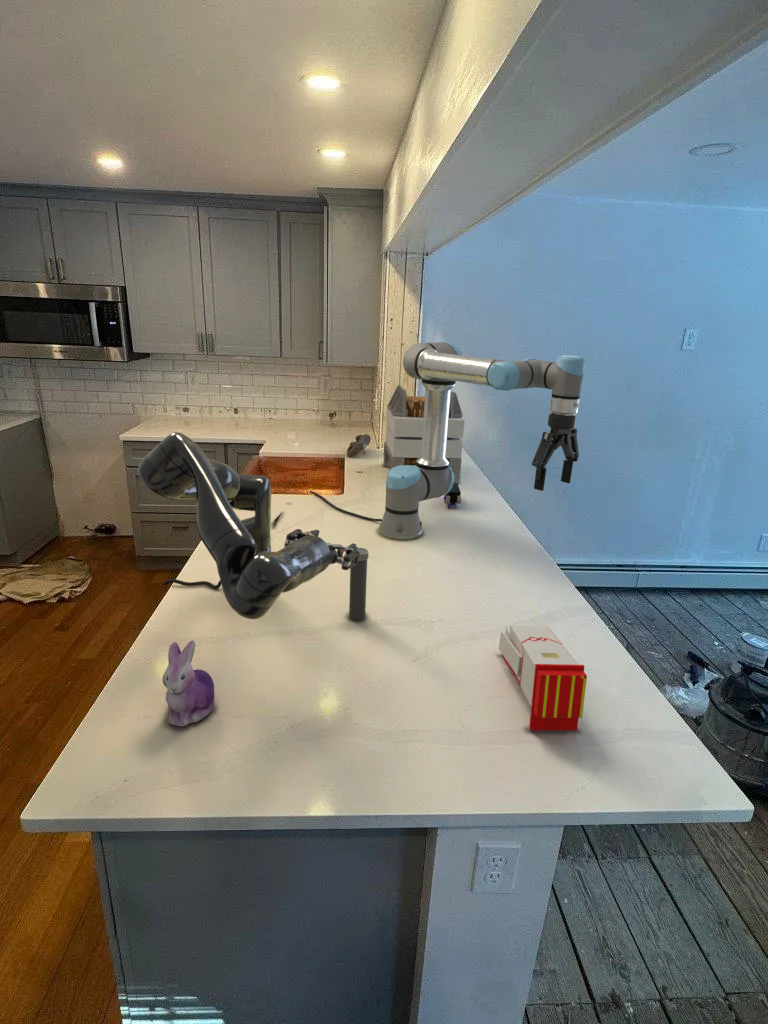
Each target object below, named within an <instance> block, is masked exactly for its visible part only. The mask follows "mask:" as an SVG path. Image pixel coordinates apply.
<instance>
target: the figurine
mask: <svg viewBox="0 0 768 1024" xmlns="http://www.w3.org/2000/svg"><path fill="white" fill-rule="evenodd" d="M195 649H196V641H195V640H190V641H188V643H186V645H185V646H184V648H183V649H182V650H181V648H180V645H179V644H178V642H176V641H173V642H172V643H170V645H169V648H168V651H167V652H168V654H167V658H168V665H167V667H166V669H165V670H164V672H163V675H162V680H161V681H162V684H163V686H164V687H165V688H166V690H167V691H166V693H165V701H166V704H167V707H168V710H169V715H168V723H169V724H170V725H173V726H176V727H177V726H178V727H185V726H187V725H189V724H192V723H193V724H194V723H197V722H200V721H201V720H203V719H204V718H205V717H207V716H209V714H210V713H212V711H213V709H214V705H215V684H214V683H215V682H214V680H213V678H212V676H211V675H210V673H208V672H207V671H205V670H203V669H194V668H193V666H192V660H193V657H194V654H195Z"/></svg>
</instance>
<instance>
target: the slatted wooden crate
mask: <svg viewBox="0 0 768 1024" xmlns="http://www.w3.org/2000/svg"><path fill="white" fill-rule="evenodd" d="M407 394H408V393H407V390H406V389H404V388H403V387H402V385H399V384H398V385H397V386H396V388H395V390H394V392H393V394H392V395H391V398H390V400H389V402H388V404H387V405H386V413H385V414H386V415H385V423H386V428H385V438H384V442H383V466H384V467H388V468H389V470H390V469H392V468H394V467H396V466H401V465H404V466H405V465H413V466H416V461H417V459H418V458H420V457H421V449H422V434H423V419H424V404H425V396H415V395H414V396H413V395H412V396H411V395H407ZM464 429H465V419H464V418H463V411H462V408H461V405H460V402H459V398H458V395H457V392H455V391H453V390H451V392H450V404H449V416H448V428H447V441H446V453H445V458H446V459H447V461H448V462H449V466H450V467H451V469H452V473H454V483H458V484H459V483H461V472H462V461H463V460H462V453H463V442H464V441H463V440H462V439H463V438H464V431H465V430H464Z"/></svg>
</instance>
